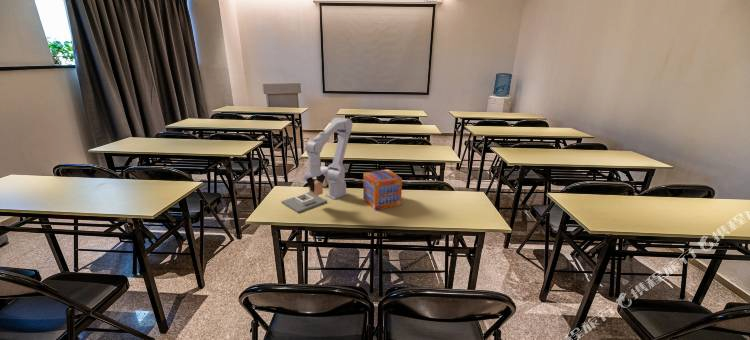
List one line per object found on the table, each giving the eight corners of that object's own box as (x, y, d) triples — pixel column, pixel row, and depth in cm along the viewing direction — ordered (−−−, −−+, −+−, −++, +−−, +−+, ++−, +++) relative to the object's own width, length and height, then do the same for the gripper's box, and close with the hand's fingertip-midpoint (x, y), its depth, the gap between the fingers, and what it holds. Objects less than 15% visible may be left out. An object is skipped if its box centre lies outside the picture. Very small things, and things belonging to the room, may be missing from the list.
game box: (401, 205, 164) (402, 178, 159) (375, 210, 157) (375, 182, 152) (387, 194, 177) (388, 168, 172) (363, 198, 171) (363, 172, 165)
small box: (325, 187, 185) (324, 170, 182) (316, 186, 186) (316, 170, 183) (330, 182, 193) (329, 166, 189) (321, 181, 194) (320, 165, 190)
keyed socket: (310, 193, 176) (309, 188, 175) (327, 202, 165) (326, 197, 164) (281, 202, 164) (281, 197, 163) (298, 213, 153) (297, 207, 152)
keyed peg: (322, 193, 158) (322, 183, 156) (316, 196, 155) (315, 185, 153) (315, 190, 162) (315, 179, 160) (309, 192, 159) (308, 181, 157)
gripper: (321, 160, 161) (322, 183, 165) (297, 166, 151) (299, 191, 155) (330, 163, 156) (330, 187, 161) (305, 169, 146) (307, 195, 151)
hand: (316, 189), depth 158 cm, fingers closed on keyed peg, 4 cm apart
